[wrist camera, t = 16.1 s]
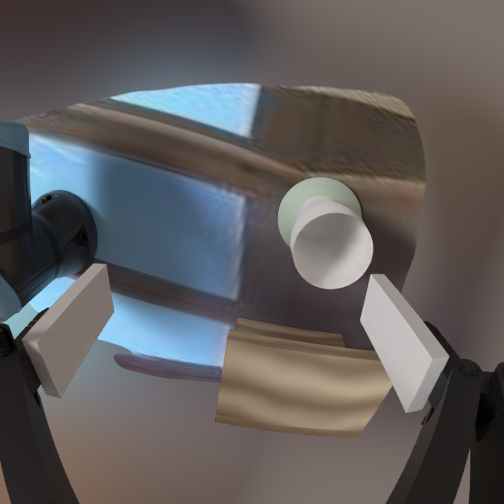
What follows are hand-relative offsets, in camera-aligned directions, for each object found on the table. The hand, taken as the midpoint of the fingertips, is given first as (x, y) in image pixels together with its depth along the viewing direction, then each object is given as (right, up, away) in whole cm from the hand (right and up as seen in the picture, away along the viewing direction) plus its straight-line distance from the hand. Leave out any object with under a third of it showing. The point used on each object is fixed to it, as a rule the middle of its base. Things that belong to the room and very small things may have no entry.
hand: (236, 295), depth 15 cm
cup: (+10, +7, +28) cm, 31 cm away
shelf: (+8, -5, +34) cm, 35 cm away
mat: (+10, +7, +29) cm, 31 cm away
